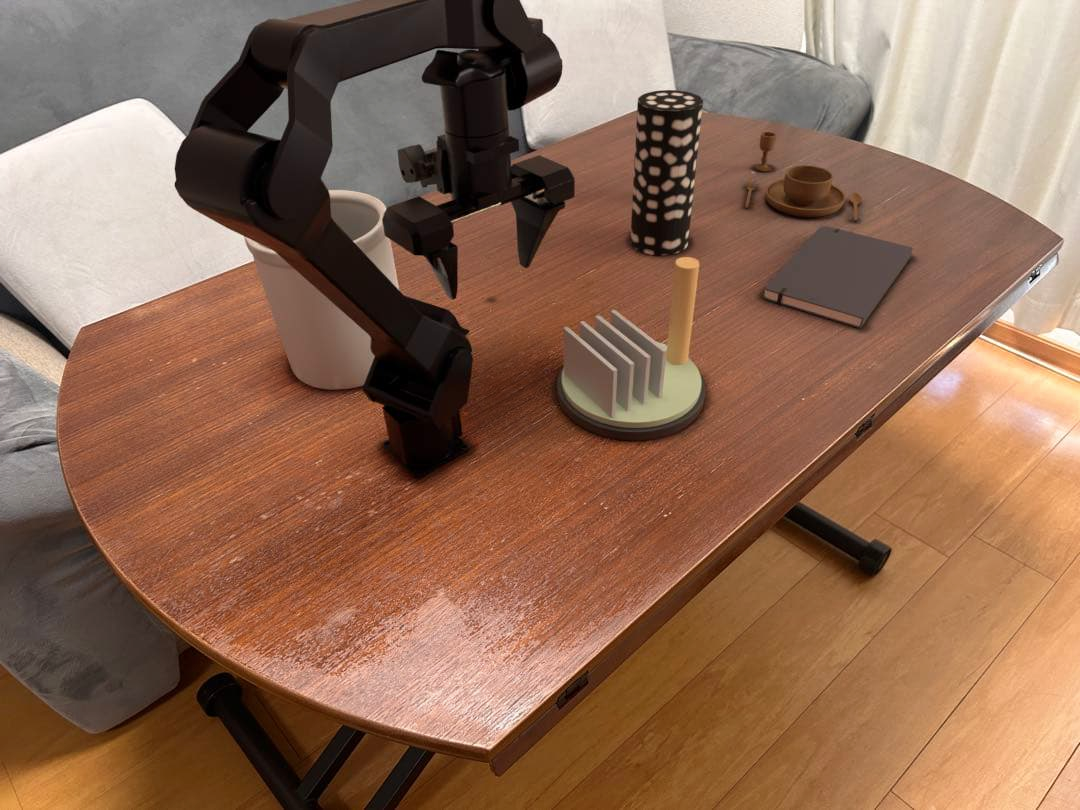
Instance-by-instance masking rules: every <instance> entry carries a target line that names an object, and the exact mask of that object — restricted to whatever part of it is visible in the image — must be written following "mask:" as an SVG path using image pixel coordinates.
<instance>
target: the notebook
mask: <svg viewBox="0 0 1080 810" xmlns="http://www.w3.org/2000/svg"><path fill="white" fill-rule="evenodd" d="M913 250H914V247H912V246H909V245H905V244H901V243H896V242H893V241H888V240H884V239H880V238H876V237H872V236H867V235H864V234H860V233H855V232H852V231H847V230H843V229H840V228H835V227H831V226H827V225H823V226H820V227H818V229H817V230H816V231H815V232H814V233H813V234H812V235H811V236H810V237H809V238H808V239H807V241H805V243H803V244H802V246H801V247H799V248H798V250H797V251H796V252H795V253H794V254H793V255H792V256H791V257H790V258H789V259H788V260H787V262H786V263H785V264H784V265H783V266H782V267H780V269H779V270H778V271H777V272H776V273H775V274H774V275H773V276H772V278H771V279H770V280H768V282H767V283H766V284H765V286H764V289H765V291H764V293H763V295H762V299H764V300H766V301H768V302H770V303H776V304H778V305H781V306H785V307H788V308H791V309H795V310H798V311H802V312H805V313H808V314H811V315H814V316H818V317H821V318H824V319H827V320H831V321H834V322H837V323H840V324H844V325H846V326H850V327H853V328H857V329H862V327H863V326H864V324H865V322H866V321H867V320H868V319H869V317H870V315H871V314H872V312H873V311H874V310H875V308H876V307H877V306H878V304H879V303H880V301H881V300H882V298H883V297H884V296H885V294H886V293H887V291H888V290H889V289H890V287H891V285H892V284H893V283H894V282H895V280H896V278H897V277H898V275H899V274H900V273H901V271H902V270H903V269H904V267H905V266H906V265H907V263H908V261H909V260H910V258H911V256H912V253H913Z"/></svg>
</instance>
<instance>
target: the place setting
mask: <svg viewBox="0 0 1080 810" xmlns="http://www.w3.org/2000/svg"><path fill="white" fill-rule="evenodd" d="M759 138H760V139H759V149H760V150H761V151H762V157H761V158H760V159H761V160H760V161H761V163H760V164H755V166H754V169H755V171H757V172H760V173H761V172H763V173H767V172H770V171H772V167H771V165H768V164H766V163H768V160H769V158H768V155H769V152H771V151H772V150H773V149H774V147H775V145H776V138H777V133H775V132H773V131H763V132H761V133H760V137H759ZM833 178H834V175H833V173H832V172H831V171H830V170H828V169H826V168H825V167H821V166H817V165H816V166H815V165H808V164H801V165H794V166H792V167H789V168H787V169H786V171H785V173H784V178H781V179H778V180H775V181H773V182H770V183H769V184H768V185H767V186H766V188H765V193H764V194H765V200H766V201H767V203H768V204H769V205H770V206H771V207H772V208H774V209H776V210H777V211H779V212H782V213H783V214H785V215H790V216H794V217H800V218H820V217H824V216H829V215H831V214H834V213H836V212H838V211H839V210H840V209H841V208H842V207H843V206H844V204H845V201H846V198H847V197H846V196H847V195H846V193H845V192H844V191H843V190H842V189H841V188H840V187H838V186H837V185H835V184H832V182H833ZM756 184H757V179H755V178H754V179H752V180H750V179H748V180H747V184H746V190H747V191H748V192H747V196H746V200H745V208H747V209H748V208H749V205H750V202H751V198H752V191H754V190H755V189H756ZM862 199H863V198H862V196H861V194H859V193H858V192H852V193H851V194H850V195H849V196H848V200H849V202H850V203H851V204H853V210H852V219H853V221H857V220H858V205H859V204H860V203H861V202H862Z"/></svg>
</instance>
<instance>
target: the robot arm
mask: <svg viewBox="0 0 1080 810" xmlns="http://www.w3.org/2000/svg"><path fill="white" fill-rule="evenodd" d="M436 49H437V50H436ZM444 49H456V50H457V49H458V50H462V51H459V52H457V51H456V52H455V51H451V50H444ZM434 50H436V51H435V54H434V56H433V58H432V61H430V62H429V64H428V65H427V66H426V67H425V69H424V70H423V72H422V75H421V81H422V83H423V84H427V85H432V86H437V87H439V91H440V100H441V101H440V102H441V109H442V111H441V112H442V119H443V130H444V134H440V135H438V136H436V137H437V139H436V142H435V145H436V147H435V148H432V149H428V150H424V148H423V146H422V145H421V144H419V143H418V144H414V145H410V146H409V145H408V146H406V147H402V148H399V149H397V158H398V159H397V160H398V169H399V171H400V174H401V177H402V180H403V181H404V182H405V183H406V184H412V183H413V184H414V183H418V182H420V186H421V188H423V189H424V188H427V187H428V186H432V185H436V192H439V193H440V194H442V195H448V194H449V195H451V200H449V201H446V202H443V203H441V204H438V205H436V204H434V203H432V202H430V201H428V200H427V199H425V198H423V197H421V196H416V197H413V198H410V199H407V200H404V201H401V202H398V203H395V204H392V205H390V206H386V211H385V212H384V215H383V218H382V222H383V228H384V234H385V236H386V237H387V238H389V239H390V241H391V242H393V243H394V244H396V245H398V246H400V247H402V248H403V249H404V250H406V251H407V252H409V253H410V254H412V255H413V256H417V257H418V256H422V257H424V258H425V259H426V262H427V263H428V264H429V266H430V267H431V269H432V271H433V273H434V275H435V276H436V278H437V280H438V282H439V284H440V286H441V288H442V289H443V291H444V293H445V295H446V296H447V298H448V299H451V300H452V301H453V300H456V299H457V295H458V287H459V280H458V279H459V274H458V272H459V271H458V270H459V269H458V268H459V267H458V265H459V264H458V263H459V262H458V261H459V260H458V259H459V256H458V255H459V254H458V252H459V249H458V248H459V247H458V245H456V244H455V243H453V242H452V240H453V238H454V237H455V231H454V230H455V229H454V224H456V223H459V222H461V221H464V220H467V219H469V218H472V217H474V216H478V215H481V214H483V213H485V212H488V211H491V210H493V209H496V208H499V207H501V206H503V205H506V204H509V203H511V206H512V208H513V210H514V213H515V222H516V224H515V225H516V241H517V242H516V244H517V255H518V260H519V265H520V266H521V267H522V268H525V269H528V268H530V266H531V264H532V262H533V261H534V258H535V256H536V254H537V252H538V250H539V248H540V246H541V244H542V242H543V240H544V238H545V236H546V234H547V233H548V230H549V229H550V227H551V226H552V225H553V222H554V220H555V219H556V217H557V215H558V213H560V211H561V210H564V209H565V208H566V201H568V200H570V199H573V198H575V194H576V178H575V176H574V174H573V172H572V171H571V169H570V168H569V167H568V166H565V165H563V164H561V163H559V162H556V161H554V160H552V159H550V158H547V157H545V156H542V155H540V154H539V155H536V156H532V157H529V158H527V159H523V160H522V161H518V162H515V163H513V164H512V156H511V154H514V153H516V152H519V151H520V141H519V140H520V139H519V138H516V137H514V136H512V135H511V134H510V119H509V111H516V110H518V109H520V108H522V107H524V106H525V105H527V104H529V103H531V102H534V101H536V100H537V99H539V98H540V97H542V96H545V95H546V94H548V93H550V92H551V91H553V90H554V89H555V88H556V87H557V86H558V84H559V82H560V81H561V78H562V75H563V68H564V67H563V66H564V65H563V59H562V58H561V54H560V52H559V49H558V48H557V45H556V43H555V41H553V40H552V38H551V37H550V36H548V35H547V34H546V33H545V32H544V21H543V19H542V18H538V17H537V18H536V17H528V15H527V12H526V11H525V9H524V6H523V4H522V2H521V0H358V1H353V2H349V3H345V4H341V5H337V6H333V7H329V8H325V9H322V10H318V11H317V10H316V11H314V12H309V13H306V14H305V13H304V14H302V15H297V16H294V17H290V18H286V19H285V18H284V19H280V18H268V19H266V20H265V21H262V22H260V23H259V24H256V25H255V26H254V27H253V28H252V30H251V31H250V33H249V34H248V35H247V39H246V42H245V44H244V45H243V48H242V51H241V53H240V56H239V59H238V60H237V61H236V62H235V63H234V64H233V66H232V67H231V68H230V69H229V70H228V71H227V72H226V74H224V76H223V77H222V78H221V79H220V80H219V81H218V82H217V83H216V84H215V85H214V87H212V88H211V90H210V91H209V92H208V93H207V94H206V95H205V96H204V98H203V99H202V101H201V103H200V105H199V107H198V110H197V112H196V115H195V117H194V120H193V122H192V125H191V127H190V129H189V132H188V134H187V135H186V137H185V138H184V139H182V142H181V144H180V146H179V147H178V150H177V152H176V155H175V162H174V175H175V181H174V188H175V191H176V192H177V195H178V196H179V197H180V198H181V199H182V200H183V202H184V203H185V204H186V205H187V206H188V207H189V208H191V209H192V210H194V211H195V212H198V213H199V214H200V215H202V216H204V217H206V218H207V219H210V220H212V221H214V222H215V223H217V224H219V225H221V226H222V227H224V228H226V229H228V230H230V231H232V232H234V233H236V234H239V235H241V236H243V237H244V236H245V237H247V238H249V239H251V240H253V241H255V242H257V243H259V244H261V245H264V246H266V247H268V248H270V249H271V250H273V251H275V252H276V253H277V254H278V255H279V256H280V257H282V258H283V259H284V260H285V261H286V262H287V263H288V264H289V265H291V266H292V267H293V268H294V269H295V270H296V271H297V272H298V273H300V274H301V275H302V276H303V277H304V278H305V279H306V280H307V281H309V282H310V283H311V284H312V285H313V286H314V287H315V288H317V289H318V290H319V291H320V292H321V293H322V294H323V295H324V296H326V297H327V298H328V299H329V300H330V301H331V302H332V303H333V304H335V305H336V306H337V307H338V308H339V309H340V310H341V311H342V312H344V313H345V314H346V315H347V316H348V317H349V318H350V319H351V320H353V321H354V322H355V323H356V324H357V325H358V326H359V327H360V328H362V329H363V330H364V331H365V332H366V333H367V334H368V335H369V336H370V337H371V344H370V349H371V352H372V353H373V355H374V356H375V357H374V360H373V362H372V365H371V367H370V370H369V373H368V375H367V378H366V380H365V383H364V385H363V386H362V392H363V393H364V394H365V396H366V397H367V399H368V400H369V401H370V402H372V403H377V404H379V405H381V406H382V412H383V418H384V422H385V427H386V431H387V437H388V439H386V440H385V441H384V442H382V447H383V449H384V450H385V451H386V453H388V454H389V455H390V456H391V457H392V458H393V459H394V460H395V461H396V462H397V463H398V464H399V465H400V466H401V467H402V468H403V469H404V470H405V471H406V472H407V473H408V474H409V475H411V477H412V478H413V479H415V480H419V479H422V478H423V477H426V476H427V475H429V474H431V473H433V472H434V471H437V470H438V469H440V468H441V467H443V466H445V465H447V464H449V463H451V462H452V461H454V460H456V459H458V458H460V457H462V456H463V455H464V454H467V453H468V452H469V451H470V446H469V444H468V443H467V442H466V441H464V439H462V438H461V437H463V424H462V417H461V410H462V408H463V407H465V406H466V404H468V400H469V393H470V387H471V386H470V385H471V379H472V371H473V364H474V363H473V362H474V359H473V347H472V343H471V342H470V339H468V337H467V335H469V333H470V329H468V328H465V327H463V326H461V324H460V323H459V321H458V319H457V317H456V315H454V313H452V312H451V311H450V309H448V308H445V307H444V308H443V307H440V306H437V305H435V304H432V303H428V302H426V301H423V300H419V299H417V298H414V297H411V296H408V295H405V294H404V293H402V292H401V291H400V289H399V290H398V289H397V288H396V287H395V285H394V284H393V283H392V282H391V281H390V280H389V279H388V278H387V277H386V276H385V275H384V274H383V273H382V272H381V271H380V269H379V268H378V267H377V266H376V265H375V264H374V263H373V262H372V261H371V260H370V259H369V258H368V257H367V256H366V255H365V253H364V252H363V251H362V250H361V249H360V248H359V247H358V246H357V245H356V244H355V243H354V242H353V241H352V240H351V239H350V237H349V236H348V235H347V234H346V233H345V232H344V231H343V230H342V229H341V228H340V227H339V226H338V225H337V224H336V223H335V221H334V220H333V218H332V217H331V206H330V194H329V191H328V190H329V189H328V187H327V185H326V183H325V182H324V181H323V178H322V176H323V174H324V171H325V170H326V166H327V165H328V161H329V159H330V157H331V154H332V152H333V147H334V144H333V125H332V123H333V122H332V104H331V103H332V100H333V98H334V95H335V92H336V90H337V87H338V84H339V83H341V82H345V81H347V80H350V79H353V78H356V77H359V76H362V75H364V74H368V73H370V72H374V71H376V70H378V69H382V68H385V67H387V66H390V65H393V64H396V63H399V62H402V61H405V60H407V59H410V58H413V57H416V56H419V55H422V54H425V53H428V52H430V51H434ZM285 89H286V90H287V109H288V111H287V112H288V120H287V123H286V126H285V128H284V131H283V133H282V136H281V138H276V137H275V138H274V137H271V136H267V135H264V134H259V133H254V132H250V131H249V130H250V129H251V128H252V127H253V125H255V124H256V122H257V121H258V120H259V119H260V118H261V117H262V116H263V115H264V114H265V113H266V112H267V111H268V110H269V109H270V108H271V107H272V106H273V105H274V104H275V102H276V101H277V100H278V99H279V98H280V97H281V95H282V94H283V92H284V90H285Z"/></svg>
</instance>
